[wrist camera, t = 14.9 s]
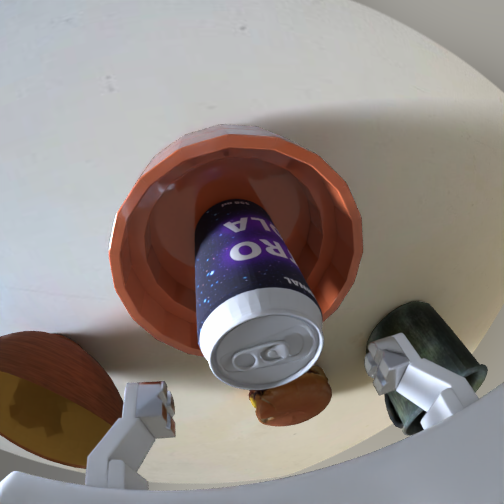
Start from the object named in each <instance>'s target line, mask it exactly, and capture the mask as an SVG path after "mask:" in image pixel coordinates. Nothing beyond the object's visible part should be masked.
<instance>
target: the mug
mask: <svg viewBox="0 0 504 504" xmlns="http://www.w3.org/2000/svg"><path fill="white" fill-rule="evenodd" d="M398 333H403V334H404V335H405V336H406V338H407V339H408V341H409V342H410V343H411V345H412V346H413V348H414V349H415V350H416V352H417V353H418V355H419V356H420V358H421V359H423V358H425V359H427V360H429V361H431V362H433V363H435V364H437V365H439V366H441V367H443V368H445V369H447V370H449V371H451V372H453V373H455V374H458V375H460V376H462V377H464V378H465V379H466V380H467V382H468V383H469V385H470V386H471V387H472V389H473V390H474V392H476V391H477V390H478V389H479V387H480V386H481V385H482V383H483V381H484V380H485V377H486V375H487V371H488V369H487V367H486V366H485V365H483V364H481V365H480V364H479V363H478V362H477V361H476V359H475V358H474V357H473V356H472V354H471V353H470V352H469V350H468V349H467V348H466V347H465V345H464V344H463V343H462V342H461V340H460V339H459V338H458V337H457V335H456V334H455V333H454V332H453V331H452V329H451V328H450V327H449V326H448V325H447V324H446V322H445V321H444V320H443V319H442V318H441V317H440V315H439V314H438V313H437V312H436V311H435V310H434V309H433V307H432V306H431V305H430V304H428V303H425V302H411V303H408V304H405V305H403V306H401V307H399V308H397V309H396V310H394V311H393V312H391V313H390V314H389V315H388V316H386V317H385V318H384V319H383V320H382V321H381V322H380V323H379V324H378V326H377V327H376V328H375V329H374V331H373V332H372V334H371V336H370V338H369V340H368V343H367V349H366V354H367V353H368V352H369V350H368V345H369V343H370V342H373V341H376V340H379V339H382V338H385V337H388V336H393V335H396V334H398ZM385 403H386V408H387V411H388V414H389V417H390V419H391V420H392V422H393V423H394V425H395V426H396V427H399V428H403V430H402V431H403V433H404V434H405V435H414V434H416V433H418V432H420V431H422V430H424V429H423V427H422V425H421V423H420V422H421V419H422V418H423V417H424V415H425V414H426V411H425V410H423V409H422V408H420V407H419V406H417V405H416V404H415V403H413V402H412V401H410V400H409V399H407V398H406V397H404V396H403V395H401V394H400V393H399V392H397V391H396V390H394V391H391V392H388V393H385Z"/></svg>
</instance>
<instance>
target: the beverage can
mask: <svg viewBox="0 0 504 504" xmlns="http://www.w3.org/2000/svg"><path fill="white" fill-rule="evenodd" d="M195 289H196V317H197V338H198V344H199V348H200V350H201V352H202V354H203V355H204V356H205V358H206V359H207V360H208V361H209V366H210V368H211V370H212V372H213V373H214V375H215V376H216V377H217V378H218V379H219V380H221V381H222V382H224V383H225V384H227V385H230V386H232V387H235V388H240V389H246V390H262V389H269V388H274V387H278V386H281V385H284V384H286V383H289V382H291V381H293V380H295V379H297V378H298V377H300V376H301V375H303V374H304V373H305V372H307V371H308V370H309V369H310V368H311V367H312V366H313V365H314V364H315V362H316V361H317V360H318V358H319V356H320V354H321V352H322V349H323V345H324V337H323V332H322V323H323V316H322V311H321V308H320V306H319V304H318V302H317V300H316V298H315V297H314V295H313V293H312V291H311V289H310V287H309V286H308V284H307V282H306V280H305V278H304V277H303V275H302V273H301V271H300V269H299V267H298V266H297V264H296V262H295V260H294V258H293V257H292V255H291V253H290V251H289V250H288V248H287V246H286V244H285V242H284V241H283V239H282V237H281V235H280V234H279V232H278V230H277V228H276V227H275V225H274V223H273V221H272V220H271V218H270V216H269V215H268V213H267V212H266V211H265V210H264V209H263V208H262V207H261V206H259V205H258V204H256V203H254V202H251V201H248V200H244V199H230V200H225V201H222V202H219V203H217V204H215V205H213V206H212V207H210V208H209V209H208V210H207V211H206V212H205V213H204V214H203V215H202V216H201V218H200V220H199V221H198V223H197V226H196V229H195Z"/></svg>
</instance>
